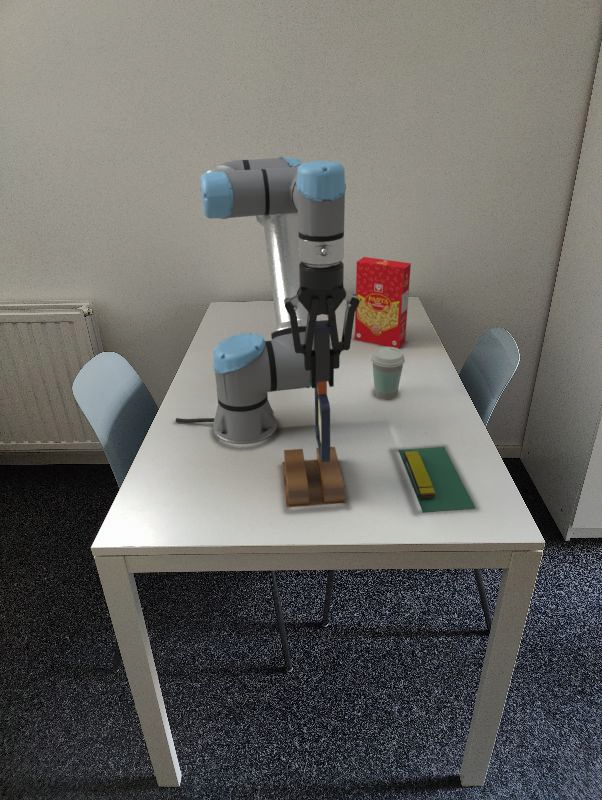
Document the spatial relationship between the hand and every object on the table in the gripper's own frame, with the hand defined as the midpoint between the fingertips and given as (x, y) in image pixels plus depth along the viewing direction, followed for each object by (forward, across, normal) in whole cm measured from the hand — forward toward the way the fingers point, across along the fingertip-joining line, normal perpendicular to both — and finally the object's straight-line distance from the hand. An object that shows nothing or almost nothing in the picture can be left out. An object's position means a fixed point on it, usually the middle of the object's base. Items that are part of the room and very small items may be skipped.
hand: (321, 383), depth 110 cm
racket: (+15, 0, 0) cm, 15 cm away
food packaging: (+25, +27, +68) cm, 78 cm away
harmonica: (+22, +20, 0) cm, 30 cm away
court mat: (+24, +23, 0) cm, 33 cm away
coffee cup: (+25, +21, +36) cm, 48 cm away
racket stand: (+24, -2, 0) cm, 24 cm away
